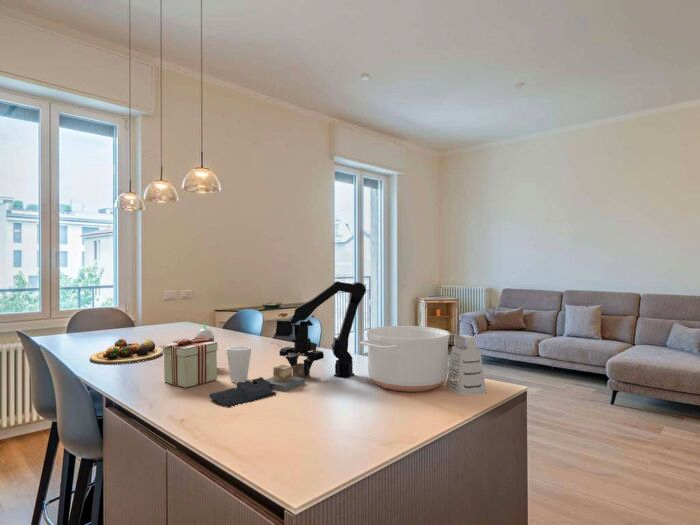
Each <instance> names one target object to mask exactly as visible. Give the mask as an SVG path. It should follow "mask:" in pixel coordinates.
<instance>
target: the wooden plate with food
mask: <svg viewBox="0 0 700 525" xmlns="http://www.w3.org/2000/svg"><path fill="white" fill-rule="evenodd" d="M160 355H161V356H162V355H163V349H162V348H160V347H156V344H155V343H154V341H153V340H151V339H147V338H146V340H145V341H144V342H143V343H141V344H139V343H138V342H131V343H127V340H126V339H124V338H119V339H118V340H117V341H115V343H114V345H110V346H108V347H107V348H106V349H105V350H100V351H98V352H95V353H93V354H92V355H91V356H90V357H89V361H90V362H91V363H93V362H94V363H93V364H97V363H102V364H101V365H118V364H117V363H128V364H130V363H129V362H136V363H138V362H137V361H143V360H148V359H152V358H155V357H158V356H160ZM161 356H160V357H161ZM158 358H159V357H158ZM155 359H156V358H155ZM152 360H153V359H152ZM148 361H149V360H148ZM143 362H144V361H143Z"/></svg>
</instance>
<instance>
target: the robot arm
mask: <svg viewBox="0 0 700 525" xmlns="http://www.w3.org/2000/svg"><path fill="white" fill-rule="evenodd" d="M366 291H367V289H366V286H365V285H364V284H363V283H361V282H358V281H356V282H353V283H349V282H341V281H338V280H336V281H334V282H333V283H332V284H331V285H330V286H328V287H327V288H326V289H324V290H322V292H320V293H318V294H317V295H316V296H314V297H313V298H312V299H310V300H308V301H306V302H304V303H301V304H299V305H298V306H296V307H295V308H294V312H293V315H292V316H291V317H290V319H289V320H286V319H284V320H281V319H276V327H275V336H276V338H284V337H285V338H288V337H289V338H290V336H291V335H294V338H292V343H294V344H293V345H294V346H293V347H291V346H286V347H283V348H280V350H279V356H281V357H284V359H286V361H287V362H288V364H289V366H292V370H293V365H296V364H298V359H299V357H300V356H301V357H306V359H303V364H304V368H305V375H306V376H307V375H308V373H309V371H310V372H311V368H312V365H313V363H314V362H315V361H319V360H322V359H324V355H325V354H324V352H323V350H317V346H318V344H317V343H315V342H312V341H311V338H309V326H314V324H313V322H311V320H310V319H309V317H310V316H311V315H312V314H313V312H314V311H315V310H316V309H317V308H318V307H319V306H321V305H322V304H324V303H325V302H327V300H329V299H331V297H333V296H335V295H336V294H337V293H339V292H343V293H348V304H347V308H346V310H345V314H344V317H343V321H342V324H341V327H340V329H339V330H340V332H339V334H338V336H337V337H335V336H334V337H333V339H332V340H333V341H332V344H331V345H330V346H331V351H332V353H333V356H334V357H335V358H336V359H337V360H335V365H334V368H335V369H334V374H333V376H334V377H338V378H345V379H347V378H350V377H352V376H354V375H355V373H354V372H353V371H354V370H353V363H354V362H353V358H354V357H353V356H352V354H351V353H350V352H349V351H348V350H349V338H350V333H351V330H352V326H353V323H354V320H355V316H356V313H357V310H358V307H359V304H360V303H361V301H362V300H363V298H364V296H365V293H366ZM293 327H294V328H293ZM293 330H294V331H293ZM293 332H294V334H293Z"/></svg>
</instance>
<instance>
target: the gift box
mask: <svg viewBox="0 0 700 525" xmlns="http://www.w3.org/2000/svg"><path fill="white" fill-rule="evenodd" d="M210 341H211V340H210V339H208V338H207V337H206V336H198V337H196V338H195V337H194V338H193V339H188V338H180V339H175V340H173V341H172V343H168V344H163V345H159V346H158V348H160V349H162V354H163V362H164V364H163V365H164V370H163V372H164V376H163V377H164V379H163V380H164V383H165V382H167V383H166V384H169V383H170V384H169V385H172V384H173V386H177V387H181V388H184V389H186V388H191V387H195V386H198V385H202V384H206V383H209V382H213V381H216V380H217V379H218V367H217V366H218V365H217V364H218V361H217V360H218V359H217V351H218V350H219V349H218V348H219V347H218V342H215V341H214V342H210Z"/></svg>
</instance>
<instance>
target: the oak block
mask: <svg viewBox="0 0 700 525" xmlns="http://www.w3.org/2000/svg"><path fill="white" fill-rule="evenodd" d="M272 370H273V376H272V377H273V381H279V382H286V381H289V380H292V376H293V369H292V366H291V365H286V364H280V365H276V366H274V367H273V369H272Z"/></svg>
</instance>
